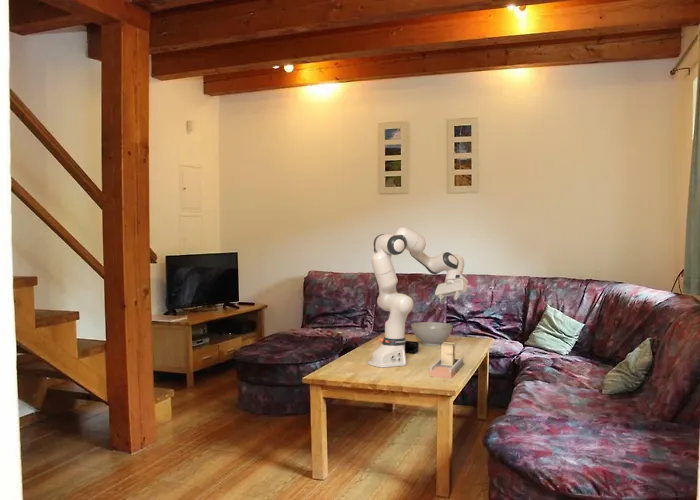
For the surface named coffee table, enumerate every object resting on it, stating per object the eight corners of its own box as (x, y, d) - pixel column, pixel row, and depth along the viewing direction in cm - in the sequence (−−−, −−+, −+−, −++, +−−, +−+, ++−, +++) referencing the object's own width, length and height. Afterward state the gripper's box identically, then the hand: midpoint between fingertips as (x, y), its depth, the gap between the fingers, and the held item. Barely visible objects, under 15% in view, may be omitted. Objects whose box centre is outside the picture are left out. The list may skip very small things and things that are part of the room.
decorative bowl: (409, 339, 408) (410, 321, 408) (449, 340, 407) (450, 322, 407) (412, 347, 381) (412, 328, 381) (455, 348, 380) (455, 328, 380)
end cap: (418, 352, 367) (419, 340, 367) (415, 354, 361) (415, 342, 361) (403, 350, 371) (403, 339, 371) (399, 352, 365) (399, 341, 365)
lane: (443, 363, 336) (443, 355, 336) (463, 365, 332) (463, 357, 332) (429, 376, 306) (429, 367, 306) (451, 378, 302) (451, 369, 302)
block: (443, 362, 325) (443, 342, 324) (454, 363, 323) (455, 342, 322) (441, 364, 319) (441, 344, 319) (452, 365, 317) (452, 344, 317)
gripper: (435, 280, 355) (430, 300, 348) (464, 274, 341) (459, 295, 334) (441, 286, 358) (437, 306, 351) (470, 280, 344) (465, 301, 337)
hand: (448, 300), depth 342 cm, fingers open, 8 cm apart
